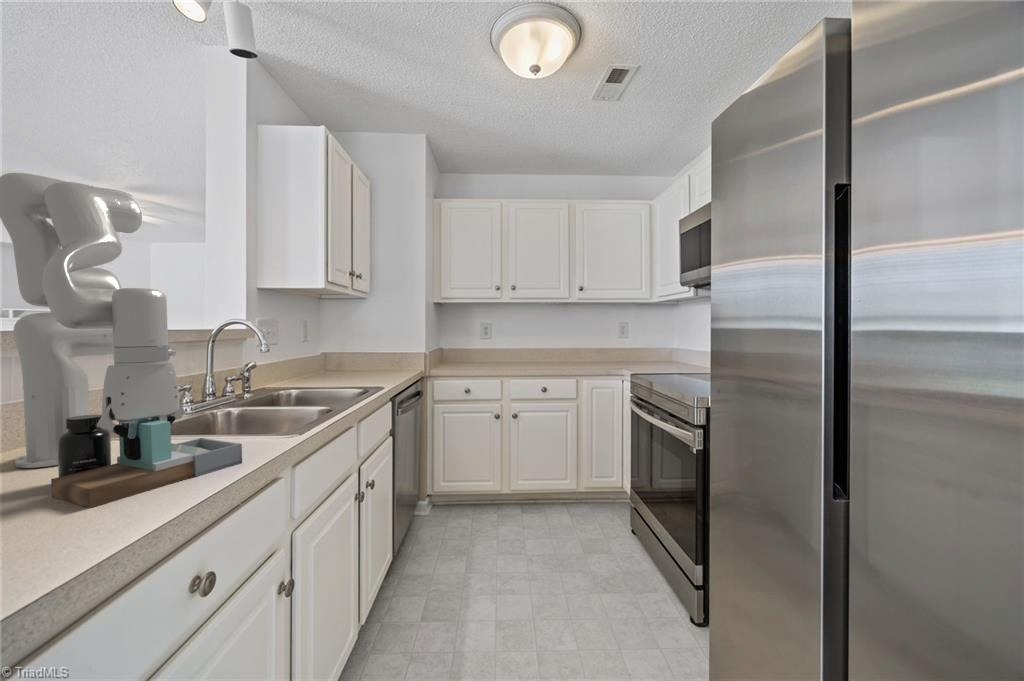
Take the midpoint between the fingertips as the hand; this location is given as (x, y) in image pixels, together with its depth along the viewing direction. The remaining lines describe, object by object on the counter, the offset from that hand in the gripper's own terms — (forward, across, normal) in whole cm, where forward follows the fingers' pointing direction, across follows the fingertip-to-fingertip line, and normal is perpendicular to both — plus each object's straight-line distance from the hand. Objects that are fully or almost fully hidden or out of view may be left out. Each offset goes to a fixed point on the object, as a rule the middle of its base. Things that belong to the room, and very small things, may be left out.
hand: (145, 455), depth 78 cm
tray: (+5, -9, 0) cm, 10 cm away
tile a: (+3, -7, -3) cm, 8 cm away
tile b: (+3, -7, +3) cm, 8 cm away
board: (+5, +3, 0) cm, 5 cm away
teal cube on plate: (+2, -2, 0) cm, 2 cm away
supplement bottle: (+5, +4, -10) cm, 12 cm away
